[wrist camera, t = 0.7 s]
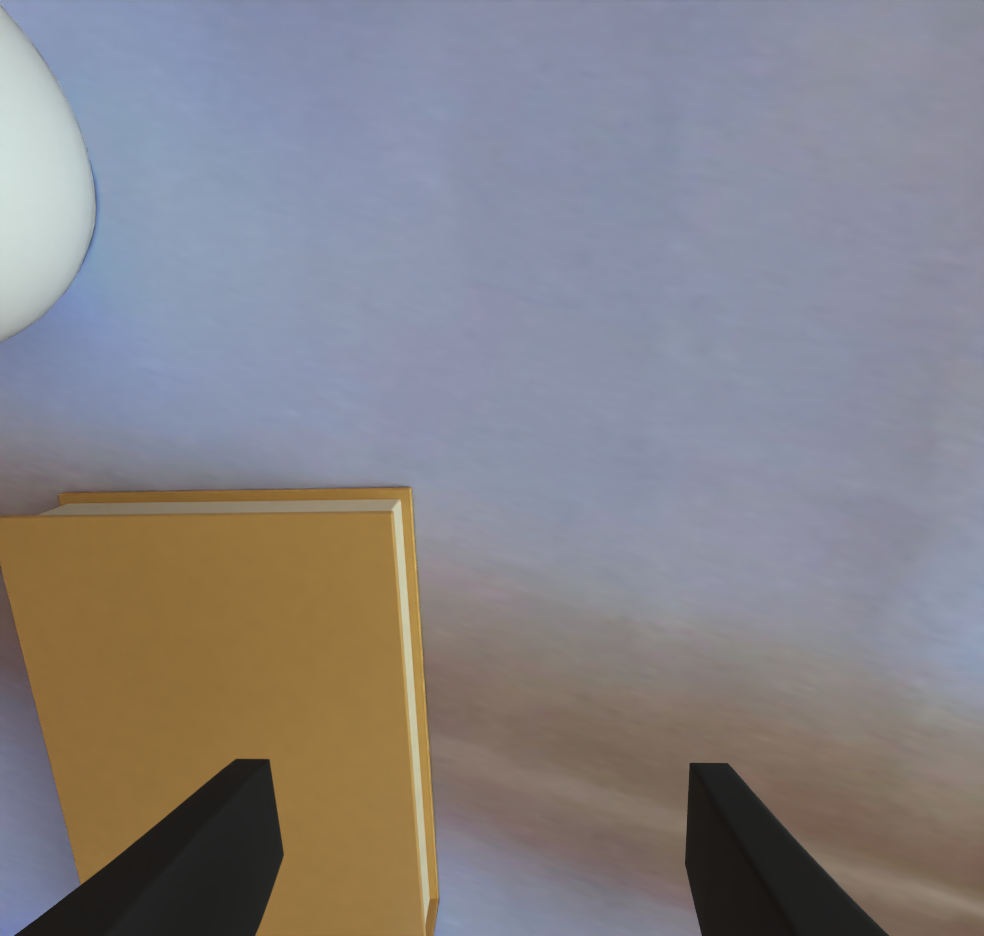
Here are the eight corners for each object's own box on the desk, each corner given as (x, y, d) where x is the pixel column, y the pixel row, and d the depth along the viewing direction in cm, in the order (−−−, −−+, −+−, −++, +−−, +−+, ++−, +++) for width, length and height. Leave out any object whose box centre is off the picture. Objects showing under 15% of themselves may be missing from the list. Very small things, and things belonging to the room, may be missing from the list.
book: (439, 899, 22) (427, 978, 19) (150, 889, 23) (100, 964, 20) (411, 486, 18) (391, 513, 16) (64, 492, 19) (-13, 518, 16)
